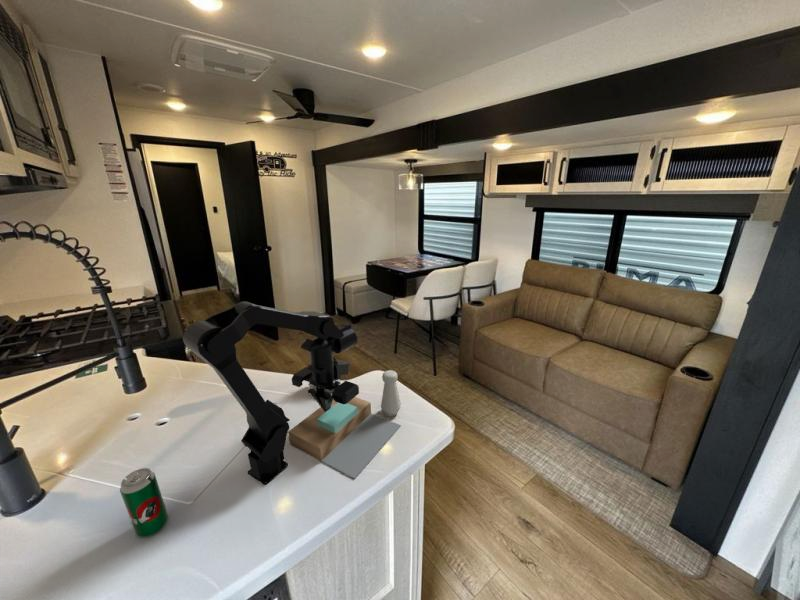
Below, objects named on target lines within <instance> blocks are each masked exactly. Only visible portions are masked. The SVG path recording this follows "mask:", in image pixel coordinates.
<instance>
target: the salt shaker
mask: <svg viewBox="0 0 800 600" xmlns="http://www.w3.org/2000/svg"><path fill="white" fill-rule="evenodd" d="M381 378H382V381H383V383H384V384H383V389H382V398H381V402H380V403H381V404H380V408H381V411H382V412H383V414H384V415H385V416H387V417H390V418H391V417H394V416H395V417H396V416H397V414H398V412H399V411H400V409H401V405H402V402H401V399H400V394H399V389H398V386H397V381H398V373H397V372H396V371H395V370H391V369H389V370H385V371H384V372H382V377H381Z"/></svg>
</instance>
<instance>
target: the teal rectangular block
mask: <svg viewBox="0 0 800 600" xmlns="http://www.w3.org/2000/svg"><path fill="white" fill-rule="evenodd" d="M357 414H358V409H357V407H356V406H353V405H351V404H348V403H347V404H341V403H337V404H335V405H334V406H333V407H331V408H330V409H329V410H328V411H326V412H325V413H324V414H322V415H321V416H320V417H319V418H317V425H318V426H320V427H322V428H324V429H326V430H328V431H330V432H332V433H336V432H337V431H339V430H340V429H341V428H342V427H343V426H344V425H345V424H346V423H348V422H349V421H350V420H351V419H352V418H353V417H354V416H356V415H357Z"/></svg>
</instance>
